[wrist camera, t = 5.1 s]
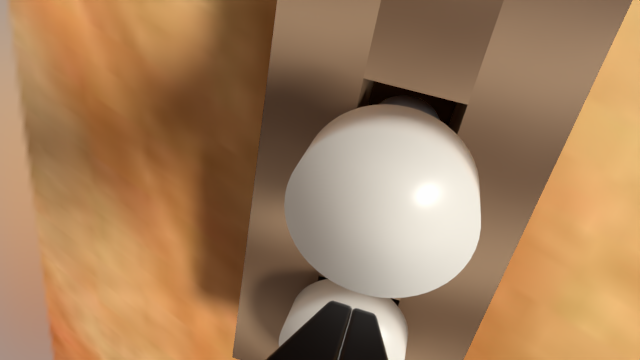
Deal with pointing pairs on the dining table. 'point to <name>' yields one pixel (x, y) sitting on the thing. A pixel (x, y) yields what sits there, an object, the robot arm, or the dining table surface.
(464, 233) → the button
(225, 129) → the dining table surface
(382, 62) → the button block
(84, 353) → the dining table surface
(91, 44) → the dining table surface
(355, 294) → the button
